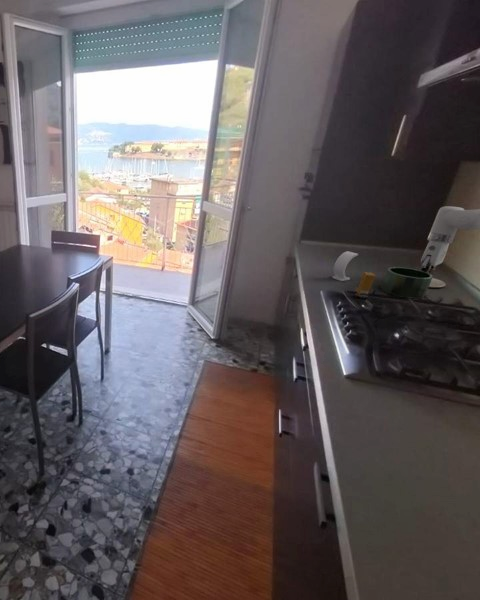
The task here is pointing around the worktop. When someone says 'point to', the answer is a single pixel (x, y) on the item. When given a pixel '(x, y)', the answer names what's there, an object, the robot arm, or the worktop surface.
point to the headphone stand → (342, 265)
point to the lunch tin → (406, 282)
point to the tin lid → (435, 281)
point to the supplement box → (365, 283)
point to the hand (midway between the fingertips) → (423, 278)
